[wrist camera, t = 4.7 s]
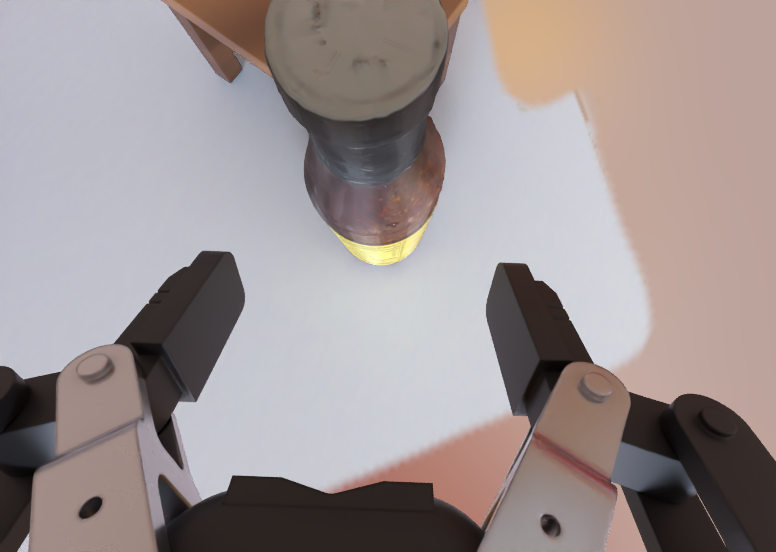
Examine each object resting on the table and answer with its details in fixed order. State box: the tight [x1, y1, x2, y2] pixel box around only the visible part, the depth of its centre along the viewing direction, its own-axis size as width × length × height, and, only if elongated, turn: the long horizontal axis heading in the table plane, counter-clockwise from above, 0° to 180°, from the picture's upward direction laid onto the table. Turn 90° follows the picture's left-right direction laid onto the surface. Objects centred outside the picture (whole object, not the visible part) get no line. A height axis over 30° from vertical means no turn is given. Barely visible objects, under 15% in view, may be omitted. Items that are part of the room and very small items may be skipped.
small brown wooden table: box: [161, 0, 468, 87], centre depth 24 cm, size 16×11×8 cm
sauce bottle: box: [264, 0, 449, 265], centre depth 17 cm, size 7×6×20 cm
